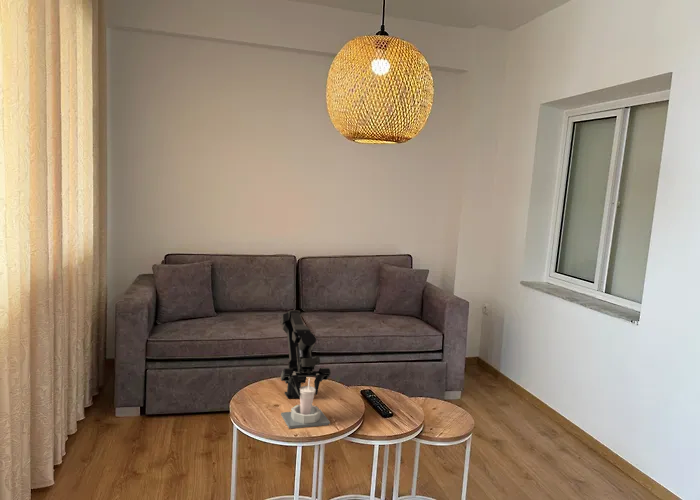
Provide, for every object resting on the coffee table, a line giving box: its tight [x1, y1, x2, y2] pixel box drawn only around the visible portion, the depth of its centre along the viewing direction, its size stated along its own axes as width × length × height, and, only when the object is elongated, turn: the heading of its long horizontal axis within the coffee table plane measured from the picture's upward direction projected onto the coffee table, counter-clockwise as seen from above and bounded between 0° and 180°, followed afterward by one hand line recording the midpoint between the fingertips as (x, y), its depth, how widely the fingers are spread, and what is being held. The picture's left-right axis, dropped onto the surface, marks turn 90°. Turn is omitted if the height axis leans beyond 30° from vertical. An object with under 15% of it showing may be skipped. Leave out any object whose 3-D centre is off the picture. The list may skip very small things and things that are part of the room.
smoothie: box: [299, 377, 316, 415], centre depth 197 cm, size 6×6×14 cm
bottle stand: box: [280, 404, 331, 429], centre depth 197 cm, size 12×16×4 cm
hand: (307, 395), depth 195 cm, fingers closed on smoothie, 6 cm apart
